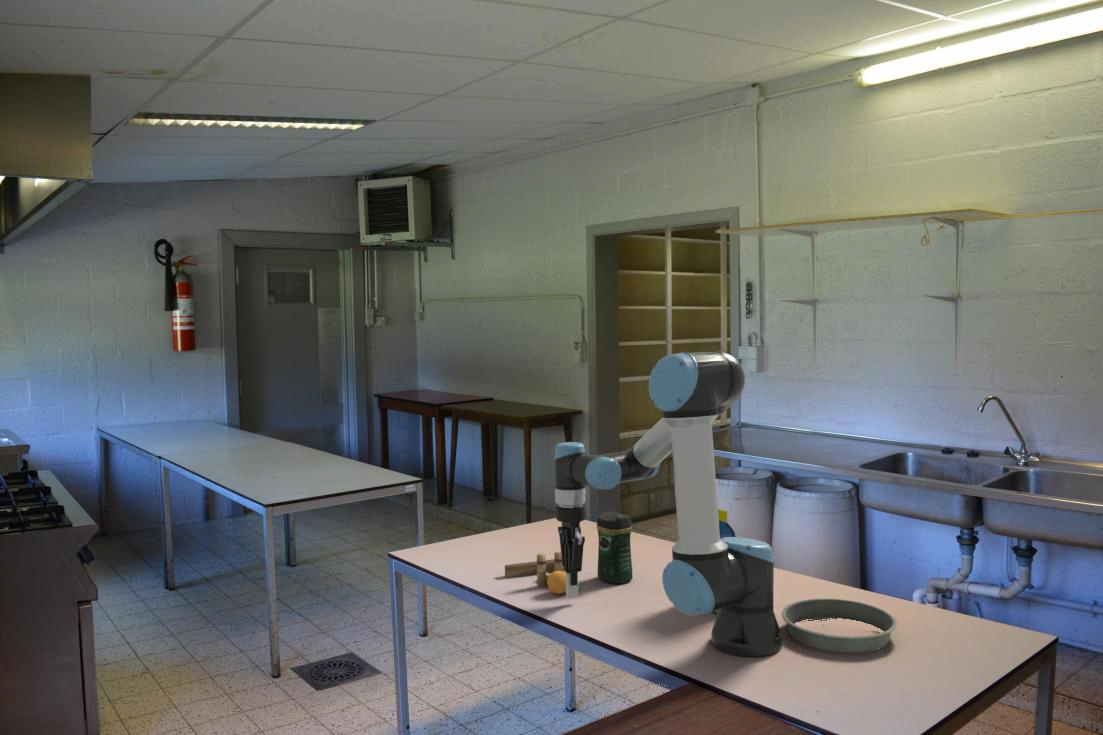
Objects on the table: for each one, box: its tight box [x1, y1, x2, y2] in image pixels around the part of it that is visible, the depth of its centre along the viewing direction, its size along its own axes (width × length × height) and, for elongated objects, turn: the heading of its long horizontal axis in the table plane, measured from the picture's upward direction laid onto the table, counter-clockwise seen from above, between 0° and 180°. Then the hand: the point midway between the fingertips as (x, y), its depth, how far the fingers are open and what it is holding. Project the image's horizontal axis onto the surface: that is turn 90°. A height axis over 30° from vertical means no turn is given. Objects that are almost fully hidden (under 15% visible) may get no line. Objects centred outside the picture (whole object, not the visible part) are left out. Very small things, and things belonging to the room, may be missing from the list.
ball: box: [546, 571, 566, 595], centre depth 225 cm, size 6×6×6 cm
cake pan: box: [781, 597, 898, 653], centre depth 194 cm, size 25×25×4 cm
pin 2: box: [553, 551, 565, 572], centre depth 233 cm, size 2×2×8 cm
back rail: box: [504, 559, 566, 579], centre depth 244 cm, size 2×18×3 cm, turn 110°
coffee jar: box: [596, 510, 633, 584], centre depth 236 cm, size 10×8×19 cm
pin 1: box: [536, 553, 547, 589], centre depth 232 cm, size 2×2×8 cm
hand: (572, 596), depth 217 cm, fingers closed
